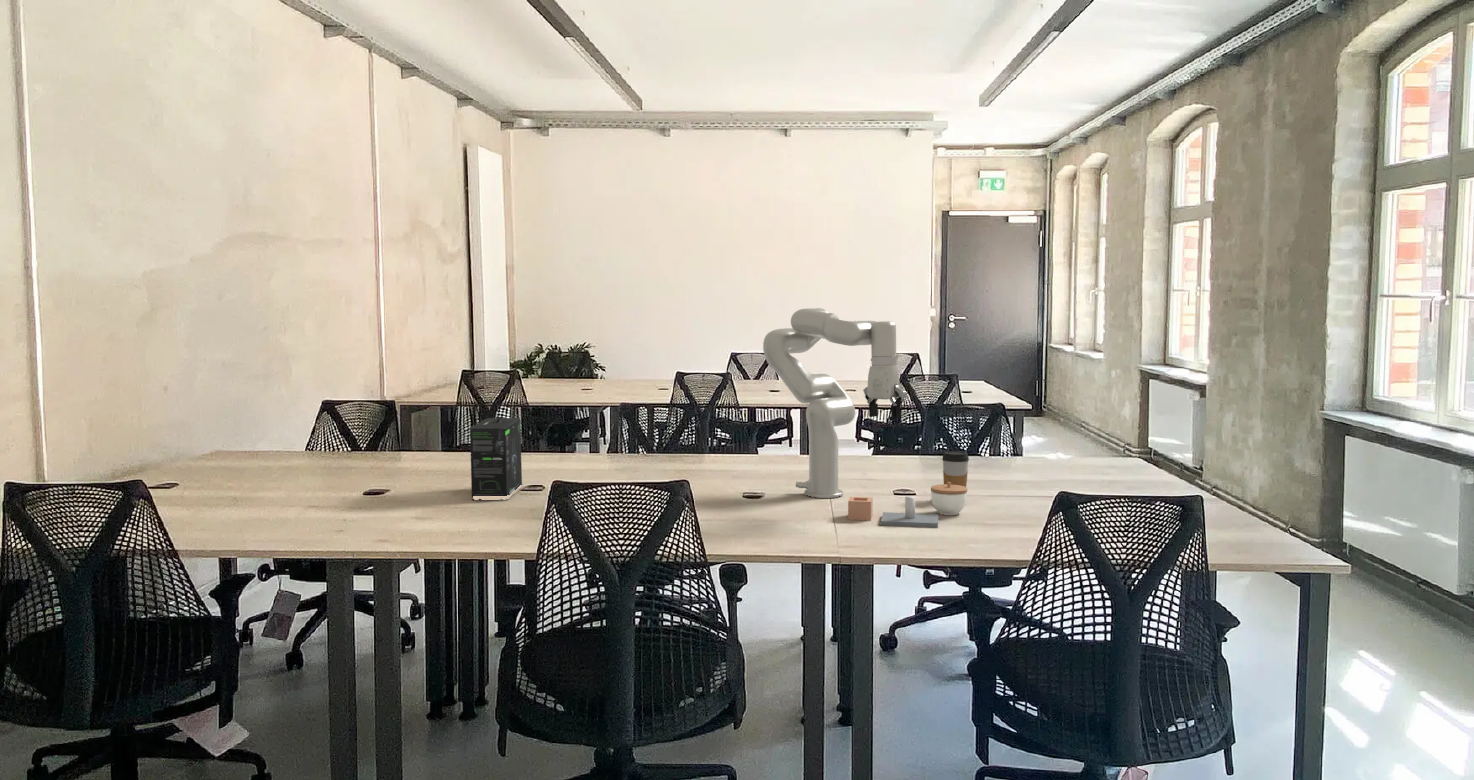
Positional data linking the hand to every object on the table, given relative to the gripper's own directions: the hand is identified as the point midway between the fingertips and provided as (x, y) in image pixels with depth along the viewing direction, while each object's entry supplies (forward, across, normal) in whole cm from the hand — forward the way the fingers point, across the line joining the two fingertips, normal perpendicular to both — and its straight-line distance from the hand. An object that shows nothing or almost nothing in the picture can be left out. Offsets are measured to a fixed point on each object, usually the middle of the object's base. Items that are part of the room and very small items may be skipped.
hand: (884, 417), depth 324 cm
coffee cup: (+28, +5, +26) cm, 38 cm away
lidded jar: (+28, +18, +9) cm, 35 cm away
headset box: (+25, -93, -87) cm, 129 cm away
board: (+28, +19, -9) cm, 35 cm away
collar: (+28, +6, -17) cm, 33 cm away
